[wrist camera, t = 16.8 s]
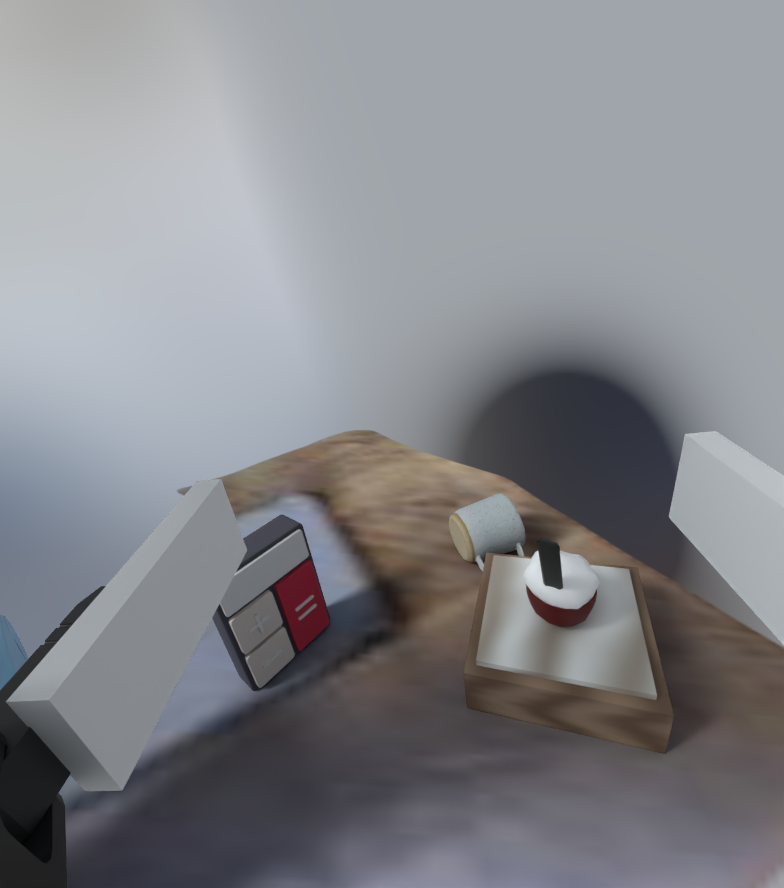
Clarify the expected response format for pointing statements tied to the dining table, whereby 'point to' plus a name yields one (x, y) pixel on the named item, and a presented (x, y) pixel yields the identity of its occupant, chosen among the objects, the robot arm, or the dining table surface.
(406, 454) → the dining table surface
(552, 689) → the walnut stand
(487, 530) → the ceramic mug
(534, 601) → the cocoa
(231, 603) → the calculator
